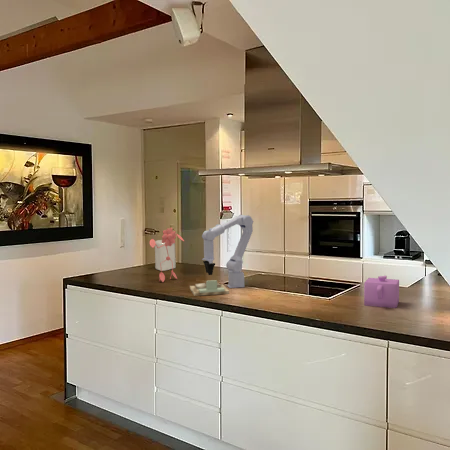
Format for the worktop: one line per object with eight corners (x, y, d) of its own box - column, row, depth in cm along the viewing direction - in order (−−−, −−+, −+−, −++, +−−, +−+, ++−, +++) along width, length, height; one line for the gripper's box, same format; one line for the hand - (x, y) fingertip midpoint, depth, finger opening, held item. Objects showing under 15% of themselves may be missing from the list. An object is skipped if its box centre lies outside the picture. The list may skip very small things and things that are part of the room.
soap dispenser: (163, 271, 342) (162, 241, 341) (148, 269, 350) (148, 240, 348) (176, 268, 355) (175, 239, 353) (162, 266, 363) (161, 238, 361)
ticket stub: (222, 289, 269) (222, 278, 268) (224, 291, 264) (224, 280, 263) (198, 290, 266) (198, 280, 266) (199, 292, 261) (199, 281, 261)
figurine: (148, 283, 300) (146, 228, 297) (178, 277, 319) (177, 226, 316) (163, 286, 290) (161, 230, 287) (193, 279, 308) (192, 226, 305)
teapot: (400, 299, 246) (400, 272, 245) (395, 310, 224) (395, 281, 223) (370, 296, 253) (370, 271, 252) (362, 307, 230) (362, 279, 229)
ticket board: (222, 286, 285) (222, 281, 285) (229, 293, 266) (229, 288, 266) (189, 288, 281) (189, 283, 281) (194, 295, 262) (194, 290, 262)
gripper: (200, 249, 282) (200, 272, 283) (203, 252, 268) (204, 276, 269) (211, 249, 284) (212, 271, 285) (216, 252, 269) (216, 275, 271)
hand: (209, 273), depth 277 cm, fingers open, 7 cm apart
